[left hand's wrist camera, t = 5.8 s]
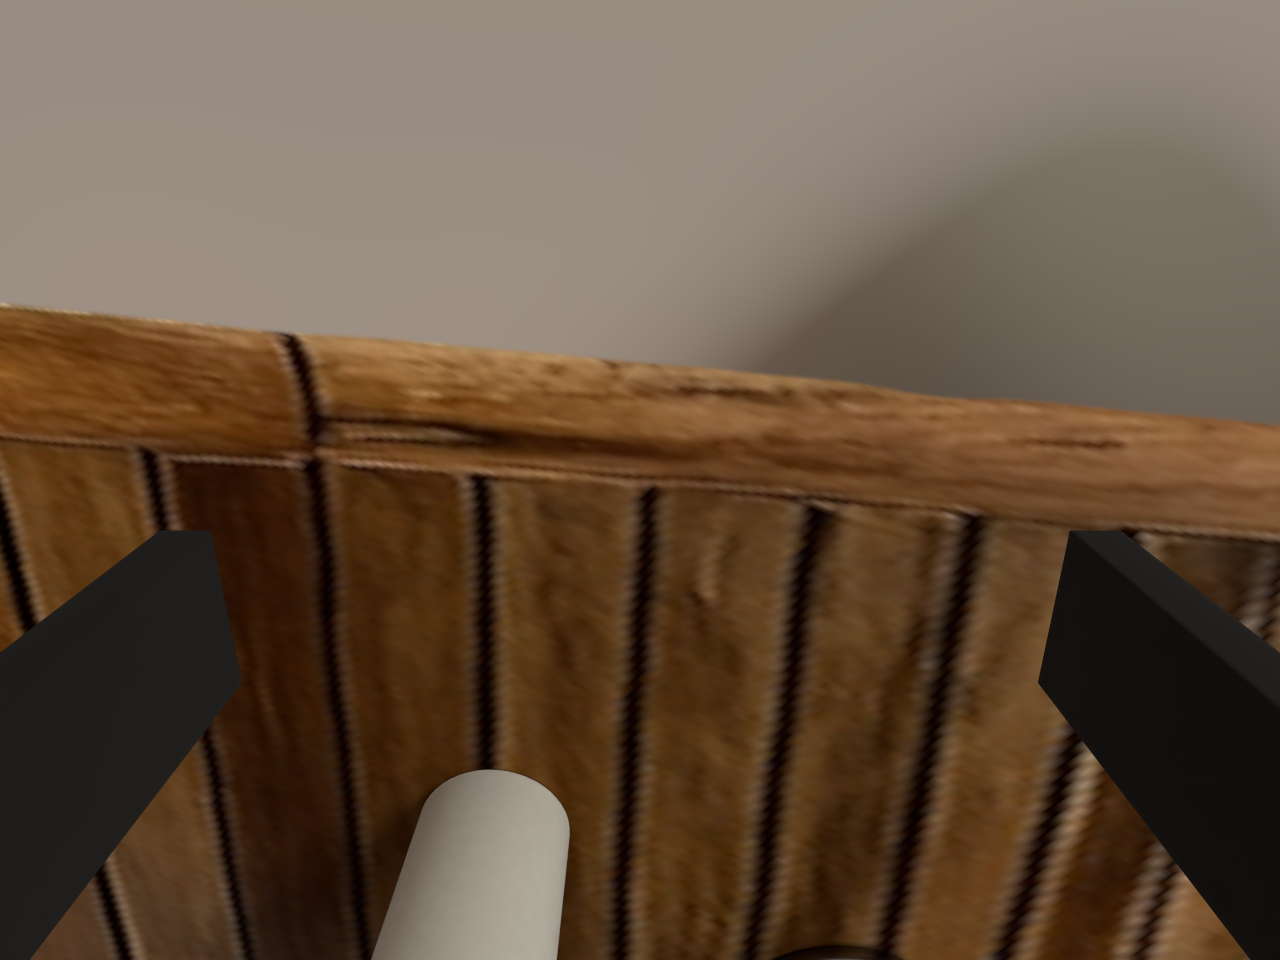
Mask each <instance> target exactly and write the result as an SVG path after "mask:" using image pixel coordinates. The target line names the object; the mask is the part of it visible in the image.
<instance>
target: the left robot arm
mask: <svg viewBox="0 0 1280 960" xmlns="http://www.w3.org/2000/svg"><path fill="white" fill-rule="evenodd" d="M241 683H242V680H241V676H240V671H239V666H238V661H237V657H236V652H235V647H234V642H233V638H232V633H231V628H230V623H229V619H228V614H227V609H226V604H225V599H224V595H223V590H222V585H221V580H220V576H219V571H218V566H217V561H216V557H215V552H214V547H213V542H212V538H211V533H210V531H159V532H158V533H156V534H155V535H154V536H152V537H151V538H150V539H148V540H147V541H146V542H144V543H143V544H142V545H140V546H139V547H138V548H137V549H135V550H134V551H133V552H131V553H130V554H129V555H127V556H126V557H125V558H123V559H122V560H121V561H120V562H118V563H117V564H116V565H114V566H113V567H112V568H110V569H109V570H108V571H106V572H105V573H104V574H103V575H101V576H100V577H99V578H97V579H96V580H95V581H93V582H92V583H91V584H89V585H88V586H87V587H85V588H84V589H83V590H82V591H80V592H79V593H78V594H76V595H75V596H74V597H72V598H71V599H70V600H68V601H67V602H66V603H65V604H63V605H62V606H61V607H59V608H58V609H57V610H55V611H54V612H53V613H51V614H50V615H49V616H48V617H46V618H45V619H44V620H42V621H41V622H40V623H38V624H37V625H36V626H34V627H33V628H32V629H30V630H29V631H28V632H27V633H25V634H24V635H23V636H21V637H20V638H19V639H17V640H16V641H15V642H13V643H12V644H11V645H10V646H8V647H7V648H6V649H4V650H3V651H2V652H0V960H30V958H31V957H32V956H33V955H34V953H35V952H36V951H37V949H38V948H39V947H40V945H41V944H42V943H43V942H44V940H45V939H46V938H47V936H48V935H49V934H50V932H51V931H52V930H53V928H54V927H55V926H56V925H57V923H58V922H59V921H60V919H61V918H62V917H63V915H64V914H65V913H66V912H67V910H68V909H69V908H70V906H71V905H72V904H73V902H74V901H75V900H76V899H77V897H78V896H79V895H80V893H81V892H82V891H83V889H84V888H85V887H86V885H87V884H88V883H89V882H90V880H91V879H92V878H93V876H94V875H95V874H96V872H97V871H98V870H99V869H100V867H101V866H102V865H103V863H104V862H105V861H106V859H107V858H108V857H109V856H110V854H111V853H112V852H113V850H114V849H115V848H116V846H117V845H118V844H119V842H120V841H121V840H122V839H123V837H124V836H125V835H126V833H127V832H128V831H129V829H130V828H131V827H132V826H133V824H134V823H135V822H136V820H137V819H138V818H139V816H140V815H141V814H142V812H143V811H144V810H145V809H146V807H147V806H148V805H149V803H150V802H151V801H152V799H153V798H154V797H155V796H156V794H157V793H158V792H159V790H160V789H161V788H162V786H163V785H164V784H165V783H166V781H167V780H168V779H169V777H170V776H171V775H172V773H173V772H174V771H175V769H176V768H177V767H178V766H179V764H180V763H181V762H182V760H183V759H184V758H185V756H186V755H187V754H188V753H189V751H190V750H191V749H192V747H193V746H194V745H195V743H196V742H197V741H198V739H199V738H200V737H201V736H202V734H203V733H204V732H205V730H206V729H207V728H208V726H209V725H210V724H211V723H212V721H213V720H214V719H215V717H216V716H217V715H218V713H219V712H220V711H221V710H222V708H223V707H224V706H225V704H226V703H227V702H228V700H229V699H230V698H231V696H232V695H233V694H234V693H235V691H236V690H237V689H238V687H239V686H240V685H241ZM1038 683H1039V685H1040V686H1041V687H1042V689H1043V690H1044V691H1045V693H1046V694H1047V695H1048V696H1049V698H1050V699H1051V700H1052V702H1053V703H1054V704H1055V706H1056V707H1057V708H1058V710H1059V711H1060V712H1061V713H1062V715H1063V716H1064V717H1065V719H1066V720H1067V721H1068V723H1069V724H1070V725H1071V726H1072V728H1073V729H1074V730H1075V732H1076V733H1077V734H1078V736H1079V737H1080V738H1081V739H1082V741H1083V742H1084V743H1085V745H1086V746H1087V747H1088V749H1089V750H1090V751H1091V753H1092V754H1093V755H1094V756H1095V758H1096V759H1097V760H1098V762H1099V763H1100V764H1101V766H1102V767H1103V768H1104V769H1105V771H1106V772H1107V773H1108V775H1109V776H1110V777H1111V779H1112V780H1113V781H1114V783H1115V784H1116V785H1117V786H1118V788H1119V789H1120V790H1121V792H1122V793H1123V794H1124V796H1125V797H1126V798H1127V799H1128V801H1129V802H1130V803H1131V805H1132V806H1133V807H1134V809H1135V810H1136V811H1137V812H1138V814H1139V815H1140V816H1141V818H1142V819H1143V820H1144V822H1145V823H1146V824H1147V826H1148V827H1149V828H1150V829H1151V831H1152V832H1153V833H1154V835H1155V836H1156V837H1157V839H1158V840H1159V841H1160V842H1161V844H1162V845H1163V846H1164V848H1165V849H1166V850H1167V852H1168V853H1169V854H1170V856H1171V857H1172V858H1173V859H1174V861H1175V862H1176V863H1177V865H1178V866H1179V867H1180V869H1181V870H1182V871H1183V872H1184V874H1185V875H1186V876H1187V878H1188V879H1189V880H1190V882H1191V883H1192V884H1193V885H1194V887H1195V888H1196V889H1197V891H1198V892H1199V893H1200V895H1201V896H1202V897H1203V899H1204V900H1205V901H1206V902H1207V904H1208V905H1209V906H1210V908H1211V909H1212V910H1213V912H1214V913H1215V914H1216V915H1217V917H1218V918H1219V919H1220V921H1221V922H1222V923H1223V925H1224V926H1225V927H1226V929H1227V930H1228V931H1229V932H1230V934H1231V935H1232V936H1233V938H1234V939H1235V940H1236V942H1237V943H1238V944H1239V945H1240V947H1241V948H1242V949H1243V951H1244V952H1245V953H1246V955H1247V956H1248V957H1249V958H1250V960H1280V652H1278V651H1277V650H1276V649H1274V648H1273V647H1272V646H1270V645H1269V644H1268V643H1267V642H1265V641H1264V640H1263V639H1261V638H1260V637H1259V636H1257V635H1256V634H1255V633H1253V632H1252V631H1251V630H1250V629H1248V628H1247V627H1246V626H1244V625H1243V624H1242V623H1240V622H1239V621H1238V620H1236V619H1235V618H1234V617H1232V616H1231V615H1230V614H1229V613H1227V612H1226V611H1225V610H1223V609H1222V608H1221V607H1219V606H1218V605H1217V604H1215V603H1214V602H1213V601H1212V600H1210V599H1209V598H1208V597H1206V596H1205V595H1204V594H1202V593H1201V592H1200V591H1198V590H1197V589H1196V588H1195V587H1193V586H1192V585H1191V584H1189V583H1188V582H1187V581H1185V580H1184V579H1183V578H1181V577H1180V576H1179V575H1177V574H1176V573H1175V572H1174V571H1172V570H1171V569H1170V568H1168V567H1167V566H1166V565H1164V564H1163V563H1162V562H1160V561H1159V560H1158V559H1157V558H1155V557H1154V556H1153V555H1151V554H1150V553H1149V552H1147V551H1146V550H1145V549H1143V548H1142V547H1141V546H1140V545H1138V544H1137V543H1136V542H1134V541H1133V540H1132V539H1130V538H1129V537H1128V536H1126V535H1125V534H1124V533H1122V532H1121V531H1070V533H1069V538H1068V542H1067V547H1066V552H1065V557H1064V561H1063V566H1062V571H1061V576H1060V580H1059V585H1058V590H1057V595H1056V599H1055V604H1054V609H1053V614H1052V619H1051V623H1050V628H1049V633H1048V638H1047V642H1046V647H1045V652H1044V657H1043V661H1042V666H1041V671H1040V676H1039V680H1038ZM780 960H902V959H900V958H898V957H896V956H893V955H890V954H887V953H884V952H880V951H876V950H871V949H866V948H858V947H827V948H818V949H813V950H808V951H804V952H800V953H796V954H793V955H790V956H787V957H785V958H782V959H780Z"/></svg>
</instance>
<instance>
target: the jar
mask: <svg viewBox="0 0 1280 960" xmlns="http://www.w3.org/2000/svg"><path fill="white" fill-rule="evenodd" d="M569 837H570V827H569V822H568V818H567V815H566V812H565V811H564V809H563V807H562V805H561V804H560V802H559V801H558V799H557V798H556V797H555V796H554V795H553V794H552V793H551V792H550V791H549V790H548V789H546V788H545V787H544V786H542V785H541V784H539V783H538V782H536V781H534V780H532V779H530V778H528V777H526V776H523V775H520V774H517V773H513V772H508V771H502V770H477V771H472V772H467V773H464V774H461V775H458V776H456V777H453V778H451V779H449V780H448V781H446V782H444V783H443V784H441V785H440V786H439V787H438V788H436V789H435V790H434V791H433V793H432V794H431V795H430V796H429V797H428V799H427V800H426V802H425V804H424V806H423V808H422V811H421V814H420V817H419V820H418V823H417V826H416V829H415V832H414V835H413V838H412V840H411V843H410V846H409V849H408V852H407V855H406V858H405V861H404V864H403V867H402V870H401V873H400V876H399V879H398V882H397V885H396V888H395V891H394V894H393V897H392V900H391V903H390V906H389V909H388V912H387V914H386V917H385V920H384V923H383V926H382V929H381V932H380V935H379V938H378V941H377V944H376V947H375V950H374V953H373V956H372V959H371V960H557V951H558V941H559V932H560V922H561V913H562V903H563V894H564V884H565V875H566V865H567V856H568V846H569Z"/></svg>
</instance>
